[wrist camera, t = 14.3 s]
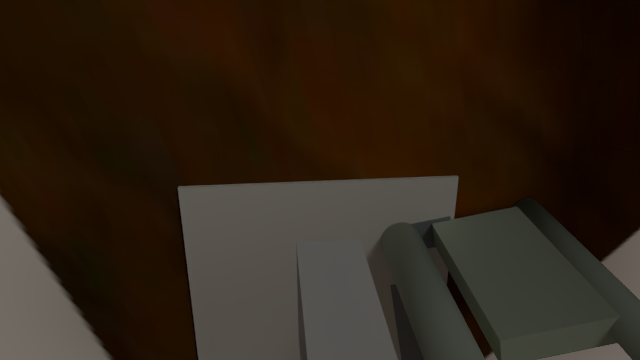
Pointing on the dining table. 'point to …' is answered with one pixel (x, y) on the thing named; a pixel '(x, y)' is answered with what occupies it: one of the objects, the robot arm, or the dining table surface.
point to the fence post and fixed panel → (510, 288)
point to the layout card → (294, 254)
